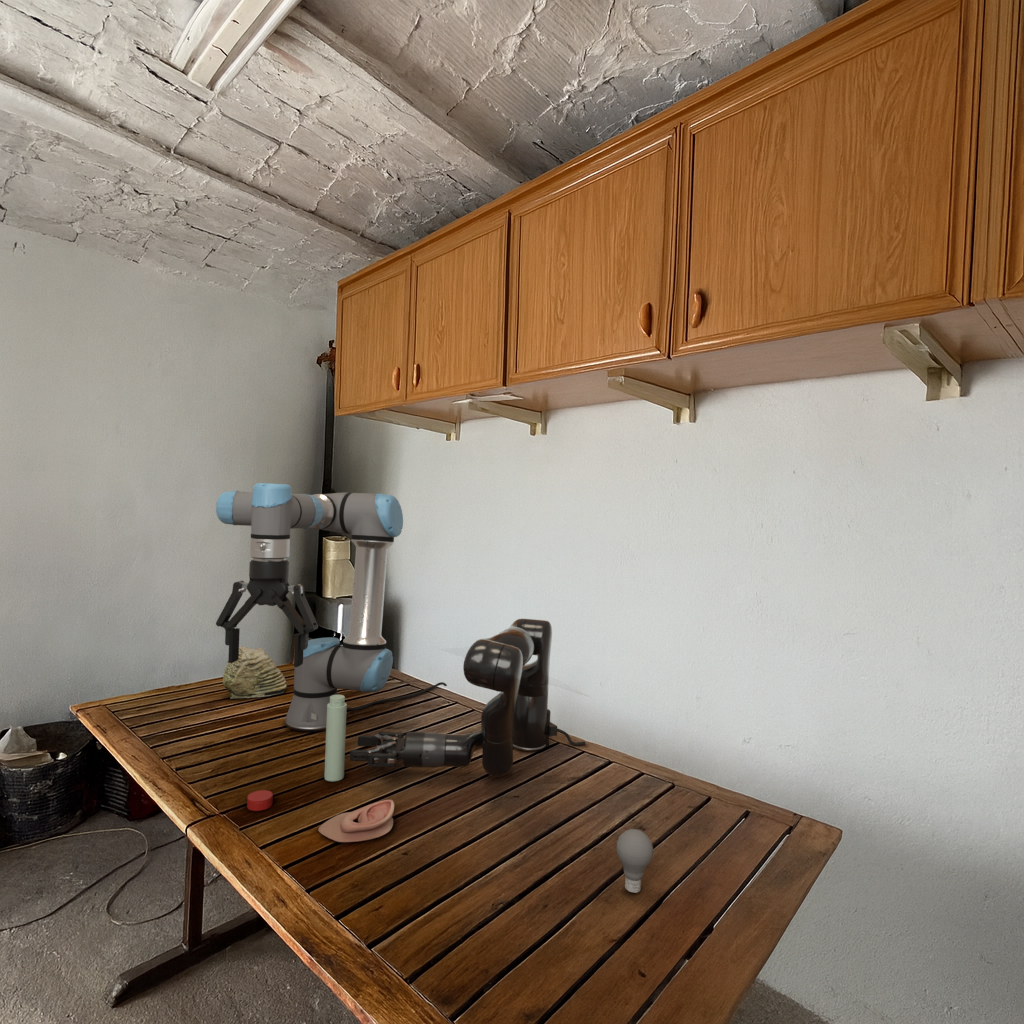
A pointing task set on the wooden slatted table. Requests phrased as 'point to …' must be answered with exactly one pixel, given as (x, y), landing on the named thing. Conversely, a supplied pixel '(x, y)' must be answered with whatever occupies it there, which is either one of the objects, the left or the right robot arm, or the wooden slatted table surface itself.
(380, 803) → the anatomical model
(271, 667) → the fossil
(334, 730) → the pale green slim bottle
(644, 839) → the light bulb
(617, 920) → the wooden slatted table surface
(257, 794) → the lid
